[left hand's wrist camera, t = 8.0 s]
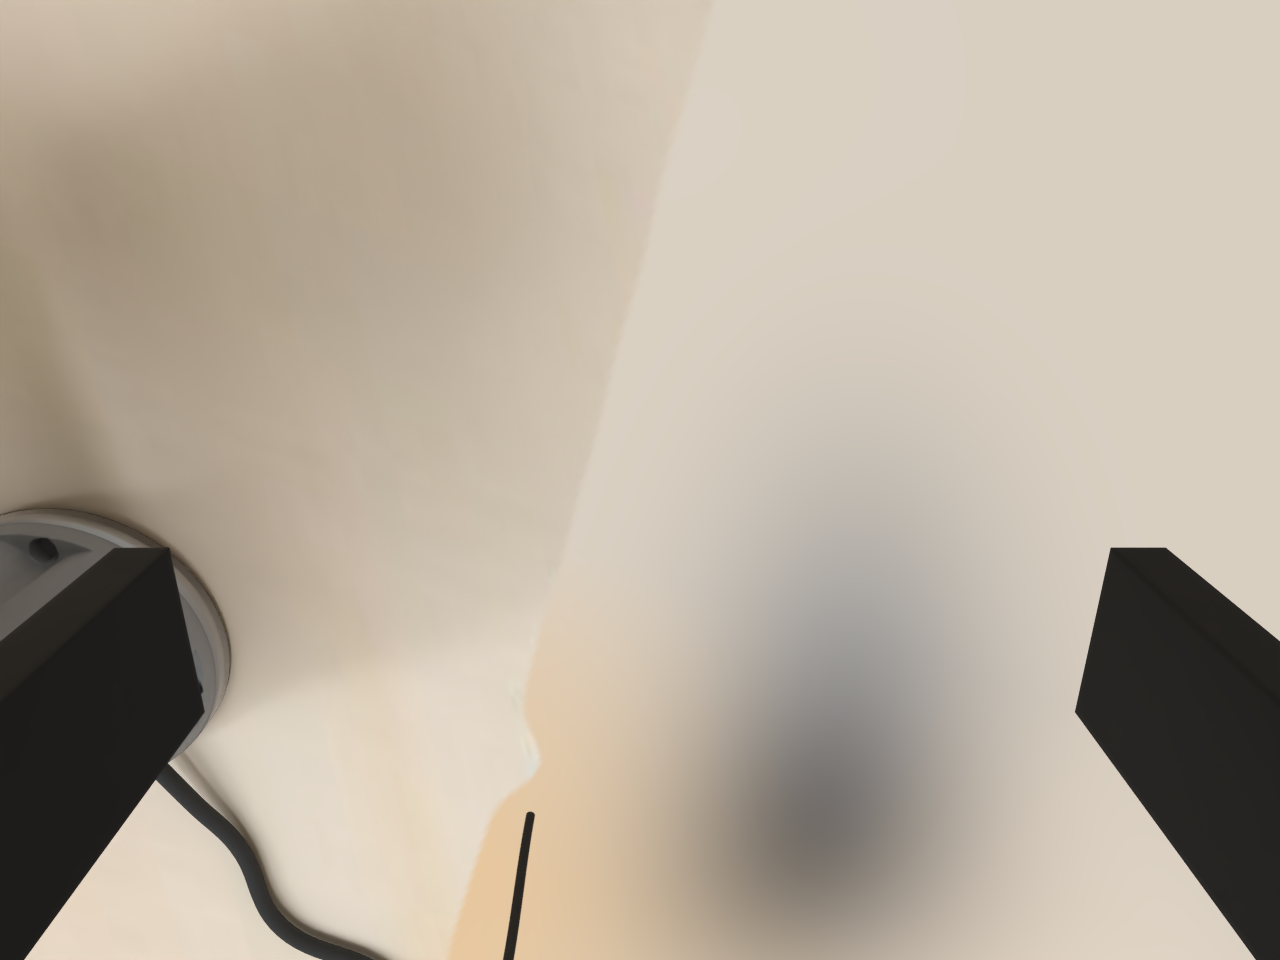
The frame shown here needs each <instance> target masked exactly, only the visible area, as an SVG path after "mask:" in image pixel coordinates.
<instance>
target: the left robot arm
mask: <svg viewBox="0 0 1280 960" xmlns="http://www.w3.org/2000/svg"><path fill="white" fill-rule="evenodd" d="M229 668H230V656H229V646H228V641H227V636H226V633H225V629H224V626H223V623H222V621H221V618H220V616H219V613H218V611H217V609H216V608H215V606H214V604H213V602H212V600H211V599H210V597H209V596H208V594H207V592H206V591H205V589H204V588H203V587H202V585H201V584H200V583H199V582H198V580H197V579H196V578H195V577H194V576H193V574H192V573H191V572H190V571H189V570H188V569H187V568H186V567H185V566H184V565H183V564H182V563H181V562H180V561H178V560H177V559H176V558H175V557H174V556H173V555H172V554H170V549H169V548H163V547H161V546H160V545H158V544H157V543H155V542H154V541H152V540H151V539H149V538H148V537H146V536H144V535H142V534H140V533H139V532H137V531H135V530H133V529H131V528H129V527H126V526H124V525H122V524H120V523H117V522H114V521H112V520H109V519H106V518H103V517H100V516H96V515H92V514H89V513H84V512H78V511H73V510H64V509H30V510H22V511H17V512H12V513H8V514H4V515H1V516H0V960H24V959H25V958H26V956H27V955H28V954H29V952H30V951H31V950H32V948H33V947H34V945H35V944H36V943H37V941H38V940H39V939H40V937H41V936H42V935H43V933H44V932H45V930H46V929H47V928H48V926H49V925H50V924H51V922H52V921H53V919H54V918H55V917H56V915H57V914H58V913H59V911H60V910H61V909H62V907H63V906H64V904H65V903H66V902H67V900H68V899H69V898H70V896H71V895H72V893H73V892H74V891H75V889H76V888H77V887H78V885H79V884H80V882H81V881H82V880H83V878H84V877H85V876H86V874H87V873H88V872H89V870H90V869H91V867H92V866H93V865H94V863H95V862H96V861H97V859H98V858H99V856H100V855H101V854H102V852H103V851H104V850H105V848H106V847H107V846H108V844H109V843H110V841H111V840H112V839H113V837H114V836H115V835H116V833H117V832H118V830H119V829H120V828H121V826H122V825H123V824H124V822H125V821H126V820H127V818H128V817H129V815H130V814H131V813H132V811H133V810H134V809H135V807H136V806H137V804H138V803H139V802H140V800H141V799H142V798H143V796H144V795H145V793H146V792H147V791H148V789H149V788H150V787H151V785H152V784H153V783H154V781H155V780H157V781H158V782H159V783H160V784H161V785H162V786H163V787H164V788H165V789H166V790H167V791H168V792H169V793H170V794H171V795H172V796H173V797H174V798H175V799H176V800H177V801H178V802H179V803H180V804H181V805H182V806H183V807H184V808H185V809H186V810H187V811H188V812H189V813H190V814H191V815H192V816H194V817H195V818H196V819H197V820H198V821H199V822H200V823H202V824H203V825H204V826H205V827H206V828H208V829H209V830H210V831H211V832H212V833H213V834H215V835H216V836H217V837H218V838H219V839H220V840H221V841H222V842H223V843H224V844H225V845H226V847H227V848H228V849H229V850H230V851H231V853H232V854H233V856H234V857H235V859H236V860H237V862H238V864H239V866H240V868H241V870H242V872H243V875H244V877H245V880H246V883H247V885H248V888H249V891H250V894H251V897H252V899H253V901H254V904H255V906H256V908H257V910H258V912H259V914H260V915H261V917H262V918H263V920H264V921H265V923H266V924H267V925H268V926H269V928H270V929H271V930H272V931H273V932H274V933H275V934H276V935H277V936H278V937H280V938H281V939H282V940H284V941H285V942H286V943H288V944H289V945H291V946H292V947H294V948H296V949H298V950H300V951H302V952H304V953H306V954H308V955H311V956H313V957H316V958H319V959H322V960H373V959H371V958H369V957H367V956H364V955H362V954H360V953H357V952H354V951H351V950H348V949H345V948H342V947H339V946H336V945H333V944H330V943H327V942H325V941H322V940H319V939H317V938H315V937H312V936H310V935H308V934H306V933H304V932H303V931H301V930H300V929H298V928H296V927H295V926H294V925H293V924H291V923H290V922H289V921H288V920H287V919H286V918H285V917H284V916H283V915H282V914H281V913H280V911H279V910H278V909H277V907H276V906H275V904H274V903H273V901H272V899H271V897H270V895H269V892H268V890H267V887H266V884H265V881H264V878H263V875H262V872H261V870H260V867H259V865H258V862H257V860H256V858H255V856H254V854H253V852H252V850H251V848H250V847H249V845H248V844H247V842H246V841H245V839H244V838H243V837H242V835H241V834H240V833H239V832H238V831H237V829H236V828H235V827H234V826H233V825H232V824H231V823H230V822H229V821H228V820H226V819H225V818H224V817H223V816H222V815H221V814H220V813H218V812H217V811H216V810H215V809H214V808H213V807H211V806H210V805H209V804H208V803H207V802H206V801H205V800H204V799H203V798H202V797H201V796H200V795H199V794H198V793H197V792H196V791H195V790H194V789H193V788H192V787H191V786H190V785H189V784H188V783H187V782H186V781H185V780H184V779H183V778H182V777H181V776H180V775H179V774H178V773H177V772H176V771H175V770H174V769H173V768H172V767H171V766H170V765H169V764H168V762H170V761H171V760H172V759H174V758H175V757H176V756H178V755H179V754H180V753H181V752H183V751H184V750H185V749H186V748H187V747H188V746H189V745H190V744H191V743H192V742H193V741H194V740H195V739H196V738H197V737H198V735H199V734H200V733H201V732H202V730H203V729H204V727H205V726H206V725H207V723H208V722H209V720H210V719H211V718H212V716H213V715H214V713H215V711H216V710H217V708H218V707H219V705H220V703H221V701H222V698H223V696H224V693H225V690H226V687H227V683H228V677H229ZM1075 713H1076V714H1077V715H1078V717H1079V718H1080V719H1081V721H1082V722H1083V724H1084V725H1085V726H1086V728H1087V729H1088V730H1089V732H1090V733H1091V734H1092V736H1093V737H1094V739H1095V740H1096V741H1097V743H1098V744H1099V746H1100V747H1101V748H1102V750H1103V751H1104V752H1105V754H1106V755H1107V756H1108V758H1109V759H1110V761H1111V762H1112V763H1113V765H1114V766H1115V767H1116V769H1117V770H1118V771H1119V773H1120V774H1121V776H1122V777H1123V778H1124V780H1125V781H1126V782H1127V784H1128V785H1129V787H1130V788H1131V789H1132V791H1133V792H1134V793H1135V795H1136V796H1137V798H1138V799H1139V800H1140V802H1141V803H1142V804H1143V806H1144V807H1145V809H1146V810H1147V811H1148V813H1149V814H1150V815H1151V817H1152V818H1153V820H1154V821H1155V822H1156V824H1157V825H1158V826H1159V828H1160V829H1161V830H1162V832H1163V833H1164V834H1165V836H1166V837H1167V839H1168V840H1169V841H1170V843H1171V844H1172V845H1173V847H1174V848H1175V850H1176V851H1177V852H1178V854H1179V855H1180V856H1181V858H1182V859H1183V861H1184V862H1185V863H1186V865H1187V866H1188V867H1189V869H1190V870H1191V872H1192V873H1193V874H1194V876H1195V877H1196V878H1197V880H1198V881H1199V882H1200V884H1201V885H1202V887H1203V888H1204V889H1205V891H1206V892H1207V893H1208V895H1209V896H1210V898H1211V899H1212V900H1213V902H1214V903H1215V904H1216V906H1217V907H1218V908H1219V910H1220V911H1221V913H1222V914H1223V915H1224V917H1225V918H1226V919H1227V921H1228V922H1229V923H1230V925H1231V926H1232V928H1233V929H1234V930H1235V932H1236V933H1237V934H1238V936H1239V937H1240V938H1241V940H1242V941H1243V943H1244V944H1245V945H1246V947H1247V948H1248V950H1249V951H1250V952H1251V954H1252V955H1253V956H1254V958H1255V959H1256V960H1280V641H1279V640H1278V639H1276V638H1275V637H1274V636H1273V635H1271V634H1270V633H1269V632H1268V631H1267V630H1265V629H1264V628H1263V627H1262V626H1261V625H1259V624H1258V623H1257V622H1256V621H1254V620H1253V619H1252V618H1251V617H1250V616H1248V615H1247V614H1246V613H1245V612H1243V611H1242V610H1241V609H1240V608H1239V607H1237V606H1236V605H1235V604H1234V603H1232V602H1231V601H1230V600H1229V599H1228V598H1226V597H1225V596H1224V595H1223V594H1222V593H1220V592H1219V591H1218V590H1217V589H1215V588H1214V587H1213V586H1212V585H1211V584H1209V583H1208V582H1207V581H1206V580H1204V579H1203V578H1202V577H1201V576H1200V575H1198V574H1197V573H1196V572H1195V571H1193V570H1192V569H1191V568H1190V567H1189V566H1187V565H1186V564H1185V563H1184V562H1183V561H1181V560H1180V559H1179V558H1178V557H1176V556H1175V555H1174V554H1173V553H1172V552H1170V551H1169V550H1168V549H1167V548H1111V549H1110V554H1109V558H1108V563H1107V567H1106V572H1105V577H1104V581H1103V586H1102V590H1101V595H1100V600H1099V604H1098V609H1097V613H1096V618H1095V623H1094V627H1093V632H1092V637H1091V641H1090V645H1089V650H1088V655H1087V659H1086V664H1085V669H1084V673H1083V678H1082V682H1081V687H1080V691H1079V696H1078V701H1077V705H1076V710H1075ZM534 818H535V814H534V813H533V812H527V813H526V818H525V823H524V829H523V834H522V841H521V847H520V852H519V859H518V865H517V872H516V879H515V886H514V893H513V900H512V906H511V913H510V920H509V926H508V932H507V939H506V945H505V950H504V956H503V960H514V955H515V949H516V943H517V936H518V930H519V923H520V915H521V908H522V901H523V893H524V886H525V878H526V871H527V864H528V857H529V849H530V843H531V837H532V830H533V824H534Z"/></svg>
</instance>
